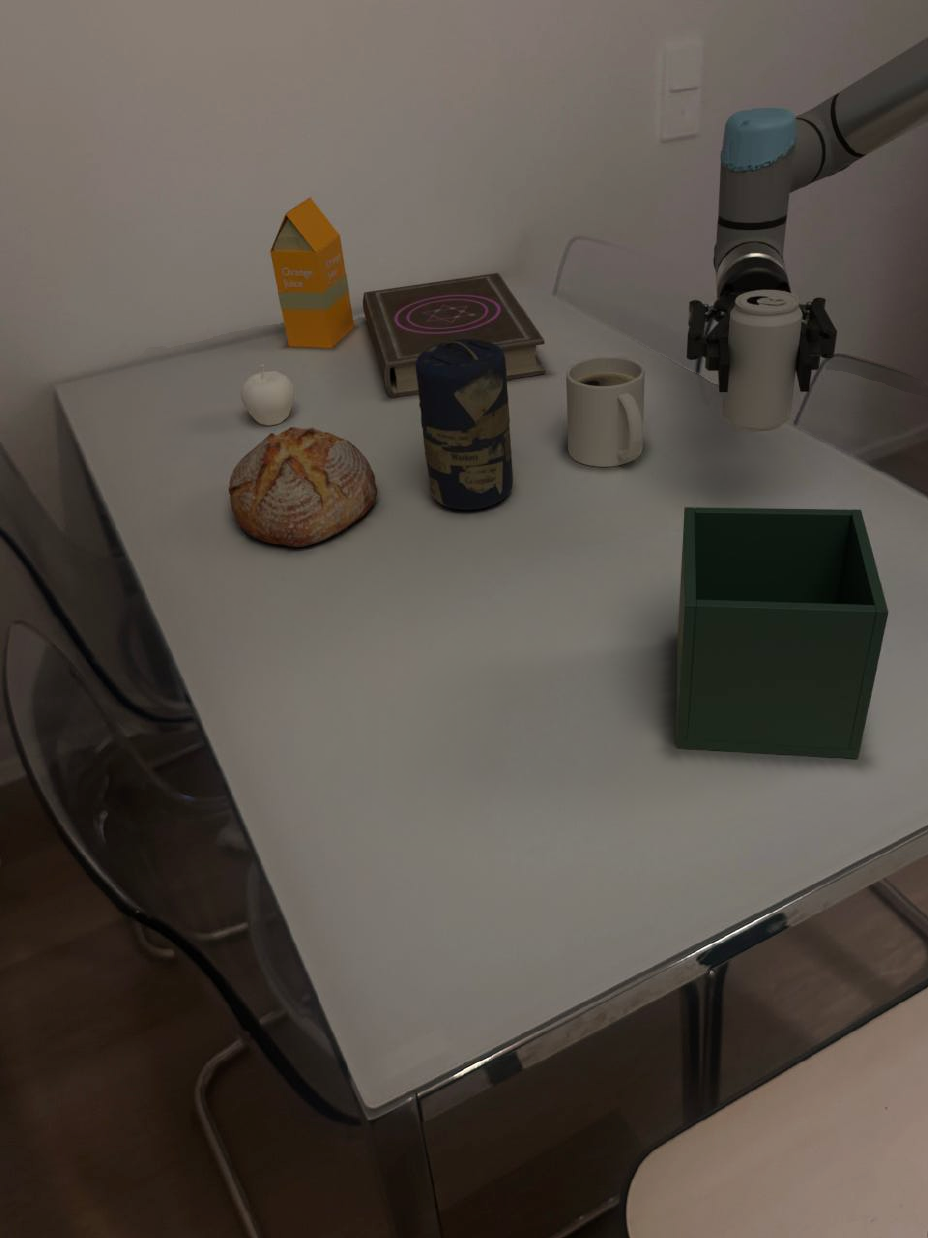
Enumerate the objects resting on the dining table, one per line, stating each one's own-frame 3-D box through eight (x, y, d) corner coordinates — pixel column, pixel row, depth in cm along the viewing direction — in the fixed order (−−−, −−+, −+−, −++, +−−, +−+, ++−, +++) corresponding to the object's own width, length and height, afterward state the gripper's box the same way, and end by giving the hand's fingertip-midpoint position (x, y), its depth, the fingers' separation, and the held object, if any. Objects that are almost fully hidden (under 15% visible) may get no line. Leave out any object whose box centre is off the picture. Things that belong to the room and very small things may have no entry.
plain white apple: (250, 435, 132) (237, 378, 127) (244, 414, 137) (231, 358, 132) (302, 424, 133) (291, 367, 128) (294, 404, 138) (283, 348, 134)
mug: (575, 431, 125) (574, 354, 119) (652, 434, 122) (655, 356, 116) (558, 473, 116) (555, 393, 110) (640, 478, 114) (642, 396, 108)
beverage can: (738, 401, 102) (747, 283, 95) (800, 413, 98) (814, 291, 91) (711, 427, 98) (719, 305, 91) (775, 440, 94) (788, 315, 87)
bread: (239, 573, 107) (211, 492, 101) (239, 485, 123) (215, 411, 117) (389, 539, 108) (370, 457, 102) (370, 456, 123) (353, 381, 117)
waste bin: (837, 648, 87) (861, 509, 79) (858, 759, 77) (888, 611, 68) (677, 642, 90) (684, 506, 81) (676, 748, 79) (684, 605, 71)
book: (545, 373, 139) (544, 339, 136) (387, 398, 137) (382, 364, 134) (500, 303, 164) (498, 272, 161) (365, 323, 162) (360, 292, 159)
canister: (449, 525, 109) (432, 368, 99) (418, 488, 116) (399, 338, 106) (528, 501, 112) (520, 346, 101) (493, 467, 119) (482, 318, 108)
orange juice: (355, 327, 161) (334, 195, 149) (333, 348, 154) (309, 212, 142) (311, 325, 163) (287, 196, 151) (287, 346, 156) (260, 213, 144)
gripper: (842, 322, 109) (872, 416, 91) (660, 326, 112) (654, 416, 94) (852, 252, 104) (886, 335, 86) (662, 258, 108) (656, 339, 90)
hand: (765, 377), depth 90 cm, fingers closed on beverage can, 6 cm apart
